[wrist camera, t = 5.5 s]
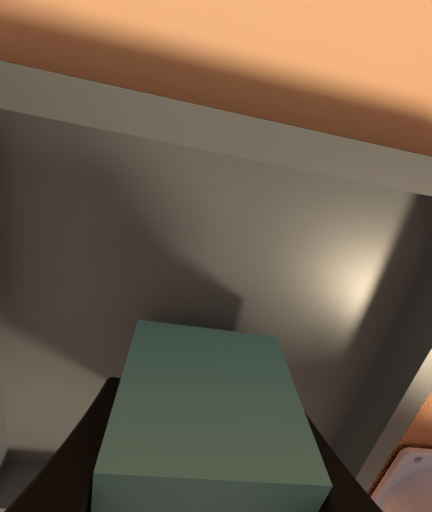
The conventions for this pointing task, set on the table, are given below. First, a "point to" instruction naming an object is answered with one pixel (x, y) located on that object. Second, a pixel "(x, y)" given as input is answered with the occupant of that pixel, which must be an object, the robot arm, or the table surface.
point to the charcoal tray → (204, 259)
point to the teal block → (207, 428)
